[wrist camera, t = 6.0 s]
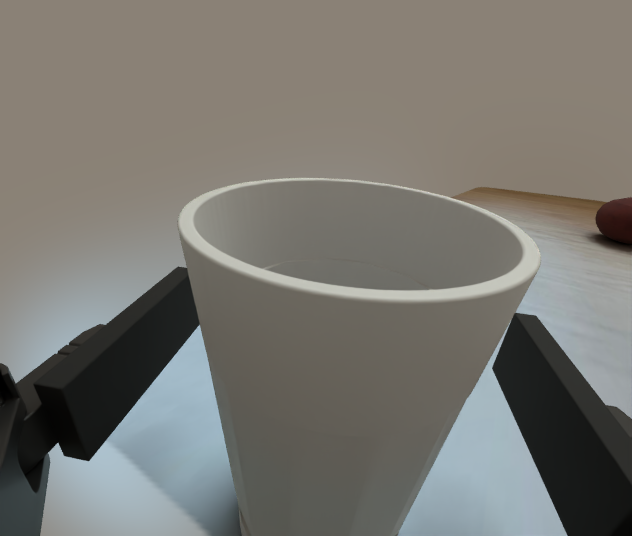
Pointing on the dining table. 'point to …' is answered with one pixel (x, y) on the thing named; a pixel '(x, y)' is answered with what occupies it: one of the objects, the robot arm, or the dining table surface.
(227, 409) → the cup
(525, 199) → the dining table surface
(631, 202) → the potato
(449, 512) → the dining table surface
